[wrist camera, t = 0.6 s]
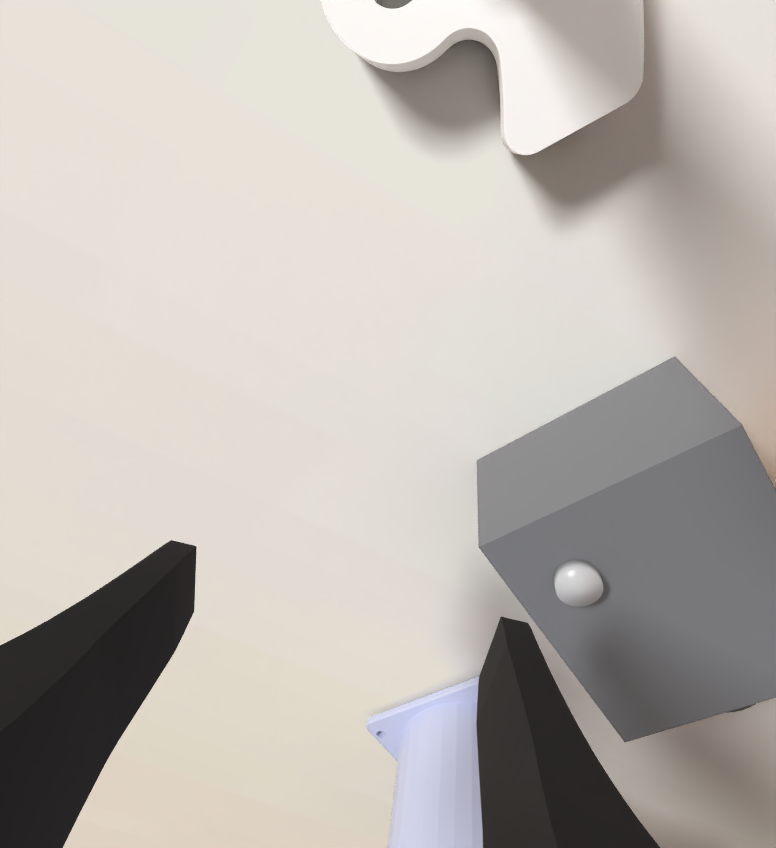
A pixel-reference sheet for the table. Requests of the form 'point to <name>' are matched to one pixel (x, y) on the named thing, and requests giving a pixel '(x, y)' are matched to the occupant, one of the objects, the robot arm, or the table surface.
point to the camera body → (642, 550)
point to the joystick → (514, 54)
